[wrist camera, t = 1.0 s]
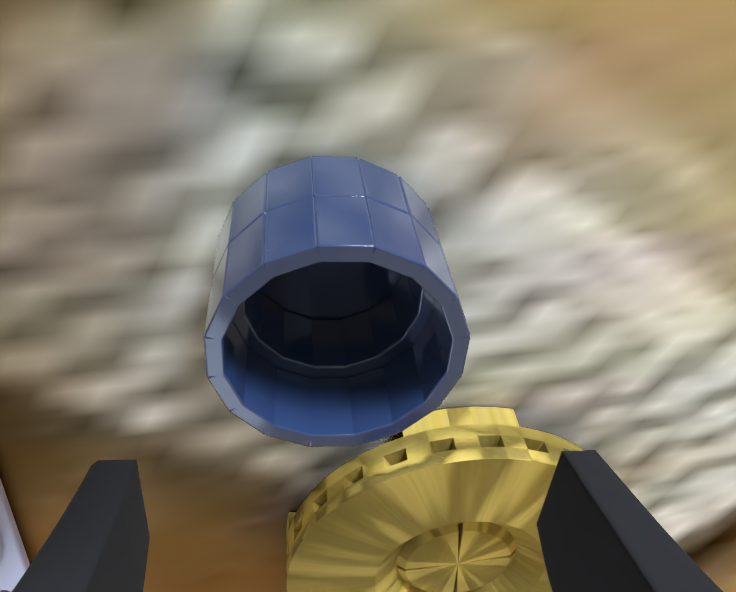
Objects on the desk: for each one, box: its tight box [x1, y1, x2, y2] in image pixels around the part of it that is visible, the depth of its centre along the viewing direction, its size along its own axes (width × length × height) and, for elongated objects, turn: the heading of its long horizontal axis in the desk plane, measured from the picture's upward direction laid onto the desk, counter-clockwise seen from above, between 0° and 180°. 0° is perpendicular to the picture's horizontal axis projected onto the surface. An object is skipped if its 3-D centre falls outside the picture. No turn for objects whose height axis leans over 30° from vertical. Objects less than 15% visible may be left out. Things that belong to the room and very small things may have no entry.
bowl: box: [204, 156, 470, 447], centre depth 17 cm, size 6×6×4 cm
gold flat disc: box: [286, 407, 584, 592], centre depth 25 cm, size 12×12×2 cm
